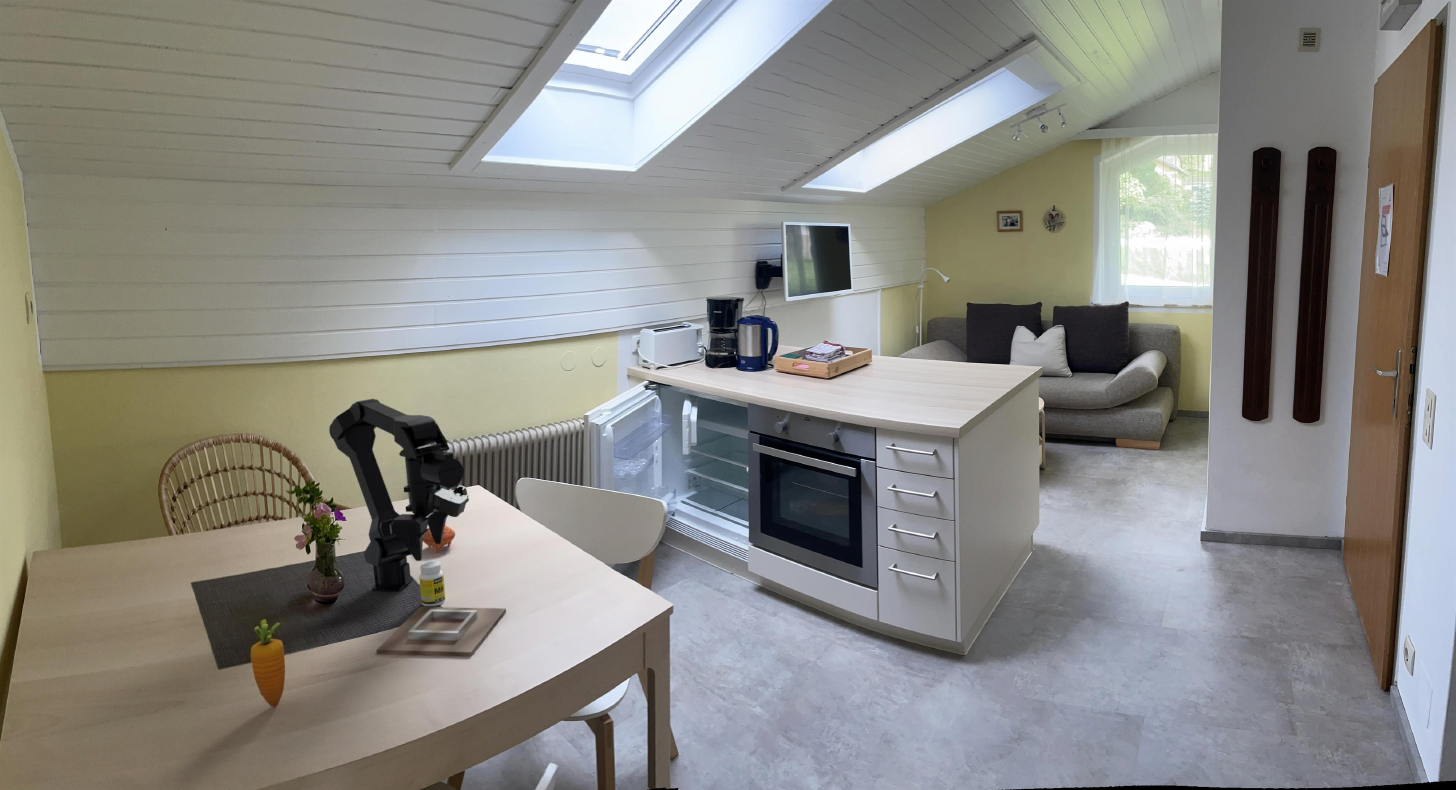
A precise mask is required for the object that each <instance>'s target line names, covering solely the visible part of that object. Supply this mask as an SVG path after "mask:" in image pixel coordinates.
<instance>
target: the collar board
mask: <svg viewBox="0 0 1456 790" xmlns="http://www.w3.org/2000/svg"><path fill="white" fill-rule="evenodd" d="M506 613H507V608H501V607H500V608H497V607H496V608H495V607H490V608H489V607H450V606H449V607H448V606H447V607H444V606H420V607H418V608H417V609H416V610H415V611H414V612H413V613H412V614H411V615H410V616H409V617H408V618H407V619H406V620H405V621H404V622H403V623H402V624H401V625H400V626H398V628H397V629H396V630H395V631H393V633H392V634H391V635H390V636H389V637H388V638H387V639H385V641H383V642H382V643H381V644H380V645H379V646H378V647H377V648H376V649H375V650H376V651H375V653H376V655H402V656H403V655H405V656H406V655H409V656H411V655H412V656H445V657H447V656H449V657H452V656H453V657H472V656H473V655H474V654H475V652H476V651H477V650H478V649H479V648H480V647H481V645H482V643H483V642H484V641H485V640H486V638H487V637H488V636H489V634H491V632H492V631H493V630H494V629H495V627H496V626H497V624H498V623H499V622H500V621H501V619H502V618H503V617H504V616H505V615H506Z"/></svg>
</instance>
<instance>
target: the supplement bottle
mask: <svg viewBox="0 0 1456 790" xmlns="http://www.w3.org/2000/svg"><path fill="white" fill-rule="evenodd" d="M444 577H445V576H444V573H443V571H442V564H441V562H440V561H437V560H428V561H426V562H422V563H421V564H420V574H419V577H418V579H419V587H420V600H421V605H423V607H438V606H439V605H442V604H444V603H445V601H446V592H445V591H446V590H445V579H444Z"/></svg>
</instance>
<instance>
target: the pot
mask: <svg viewBox="0 0 1456 790" xmlns="http://www.w3.org/2000/svg"><path fill="white" fill-rule="evenodd" d="M427 529H429V527H427ZM455 536H456V532H455V531H454V530H453V529H452V528H451V527H449V526H448V525H447V524H446V523H445V527H444V532H443V537H442V541H441V544H435V541H434V539H433V537H432V534H431V532H430V529H429V530H428V531H427V532H426V533H425V535H424V536H423V543H424V544H425V545H427V547H428V548H429V549H430V548H431V547H432V548H433V549H434V551H435V553H436V554H437V553H438V554H439V551H440V548H441V547H444V546H446V545H447V546H448V547H450V546H451V545H452V541H453V540H454V538H455Z"/></svg>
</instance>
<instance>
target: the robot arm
mask: <svg viewBox="0 0 1456 790" xmlns="http://www.w3.org/2000/svg"><path fill="white" fill-rule="evenodd" d="M376 428H378V429H380V430H383V431H385V432H386V433H388V434H390V435H392V436H393V438H394V439H393V440H394V443H396V444H397V445H399V446H400V447H401V448H402V450H401V451H400V452H399V453H398V455H399V456H400V457H402V458H404V460H405V461H404V462H405V474H406V484H407V485H405V486H404V487H403V493H407V494H408V503H409V504H407V506H405V512H406V513H401V514H400V513H398V512H397V511H396V510H395V508H394V505H393V503H392V502H393V501H392V500H391V497H390V494H389V491H388V488H387V486H386V483H385V481H384V478H383V475H382V471H381V470H380V467H379V464H378V461H377V458H376V456H375V452H374V445H375V440H376V436H377V435H376V432H375V429H376ZM328 429H329V430H328V432H329V435H330V438H331V439H332V440H333V442H334V444H335V447H336V448H337V450H339V451H340V453H342V454H344V456H346V457H348V458H349V460H350V463H351V466H352V469H353V471H354V473H355V477H356V479H357V482H358V486H359V488H360V492H361V493H362V496H363V498H364V502H365V504H366V507H367V510H368V513H369V516H370V519H371V521H370V522H371V523H370V528H369V532H368V537H369V543H368V546H367V547H366V549H365V550H364V552H363V557H364V560H365V562H366V563H367V564H370V565H372V569H373V575H374V576H373V578H374V585H373V586H372V587H371V591H383V592H384V591H385V592H386V591H389V592H390V591H391V592H393V591H394V592H399V591H401V590H402V589H403V588H404V587H406V585H408V584H409V583H410V582H411V581H412V580H413V577H412V576H411V567H410V562H408V557H409V556H412V557H413V559H414V560H415V561H416V562H421V561H422V559H423V543H424V542H423V536H424V535H425V533H426V532H427V531H428V530H429V529H430V532H431V534H432V537H433V539H434V541H435V544H441V541H442V537H443V532H444V527H445V524H446V522H447V518H448V516H449V517H452V518H457V517H459V515H461V514H462V513H464V512H465V507H466V505H467V503H468V502H469V501H470V498H469V494H468V491H467V487H466V486H464V485H460V483H461V481H462V480H463V478H464V473H465V472H464V471H465V469H464V466H463V465H462V463H461V462H460V461H459V460H458V459H456V458H454V453H453V452H450V447H449V445H448V440H447V438H446V437H445V436H444V434H443V432H442V430H441V429H440V427H439V424H438V423H437V422H436V420H435V419H434V418H433V417H431V416H427V415H424V414H422V415H420V414H414V415H413V414H405V413H404V412H401V411H399V410H397V409H396V408H395V409H394V408H393V407H390V406H388V405H386V404H384V403H381V402H380V401H379V400H378V399H376V398H375V399H374V398H369V399H368V398H367V399H364V400H358V401H357V400H356V401H355V402H354V403H352V404H351V406H350V407H349V408H348V409H346V410H345V411H343V412H341V413H340V414H338V415H337V416H336V417H335V418H334V419H333V420H332V423H331V424H330V425H329V428H328ZM447 451H448V452H447ZM458 484H459V485H458ZM457 485H458V486H457ZM456 486H457V487H456ZM446 488H448V489H446ZM453 488H454V490H453ZM428 528H429V529H428Z"/></svg>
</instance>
